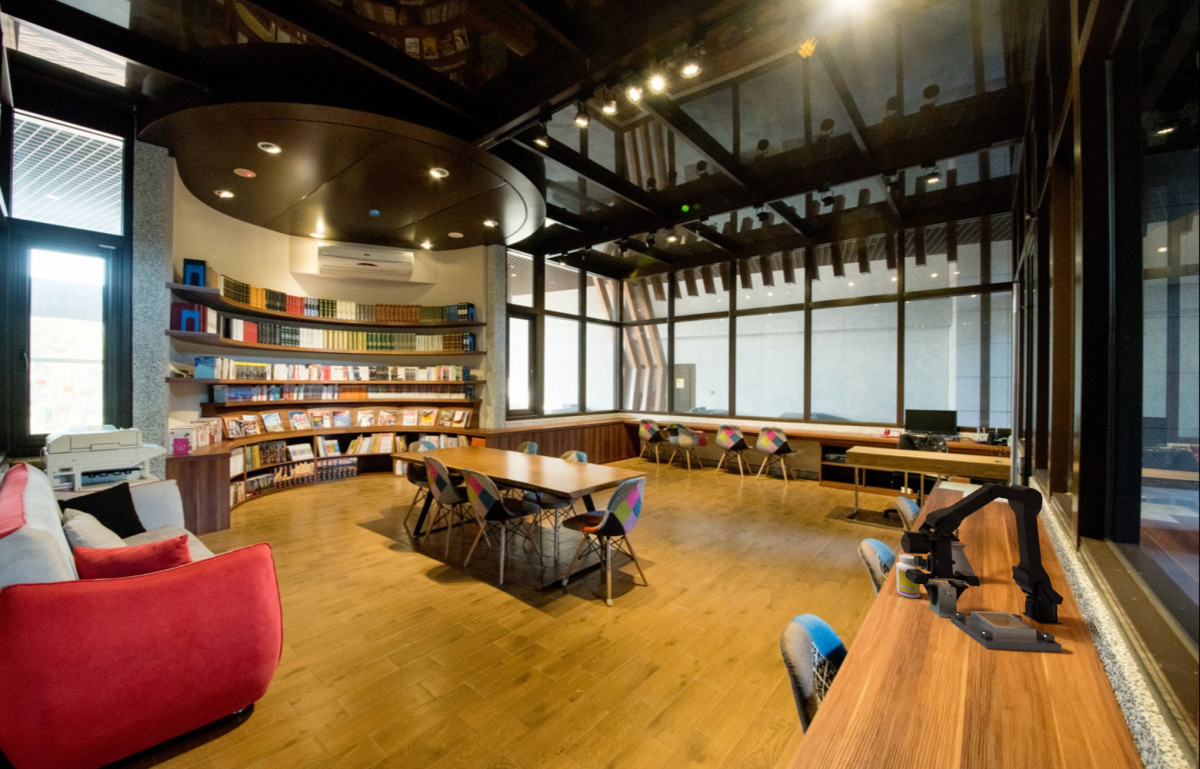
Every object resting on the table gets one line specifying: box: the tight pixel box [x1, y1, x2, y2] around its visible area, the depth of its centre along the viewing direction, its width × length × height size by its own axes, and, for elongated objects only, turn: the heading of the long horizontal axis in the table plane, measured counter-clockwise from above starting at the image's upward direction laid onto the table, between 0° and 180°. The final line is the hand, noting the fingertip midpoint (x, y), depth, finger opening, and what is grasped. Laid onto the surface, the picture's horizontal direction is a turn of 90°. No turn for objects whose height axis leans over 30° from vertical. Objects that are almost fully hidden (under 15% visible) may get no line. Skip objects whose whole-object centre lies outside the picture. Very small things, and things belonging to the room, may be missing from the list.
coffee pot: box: [952, 528, 976, 575], centre depth 176 cm, size 21×12×15 cm, turn 137°
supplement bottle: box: [895, 553, 921, 599], centre depth 158 cm, size 7×7×13 cm
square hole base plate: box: [950, 610, 1062, 653], centre depth 129 cm, size 18×15×4 cm
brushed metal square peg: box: [928, 580, 958, 618], centre depth 143 cm, size 5×6×9 cm
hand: (942, 605), depth 143 cm, fingers closed on brushed metal square peg, 5 cm apart
